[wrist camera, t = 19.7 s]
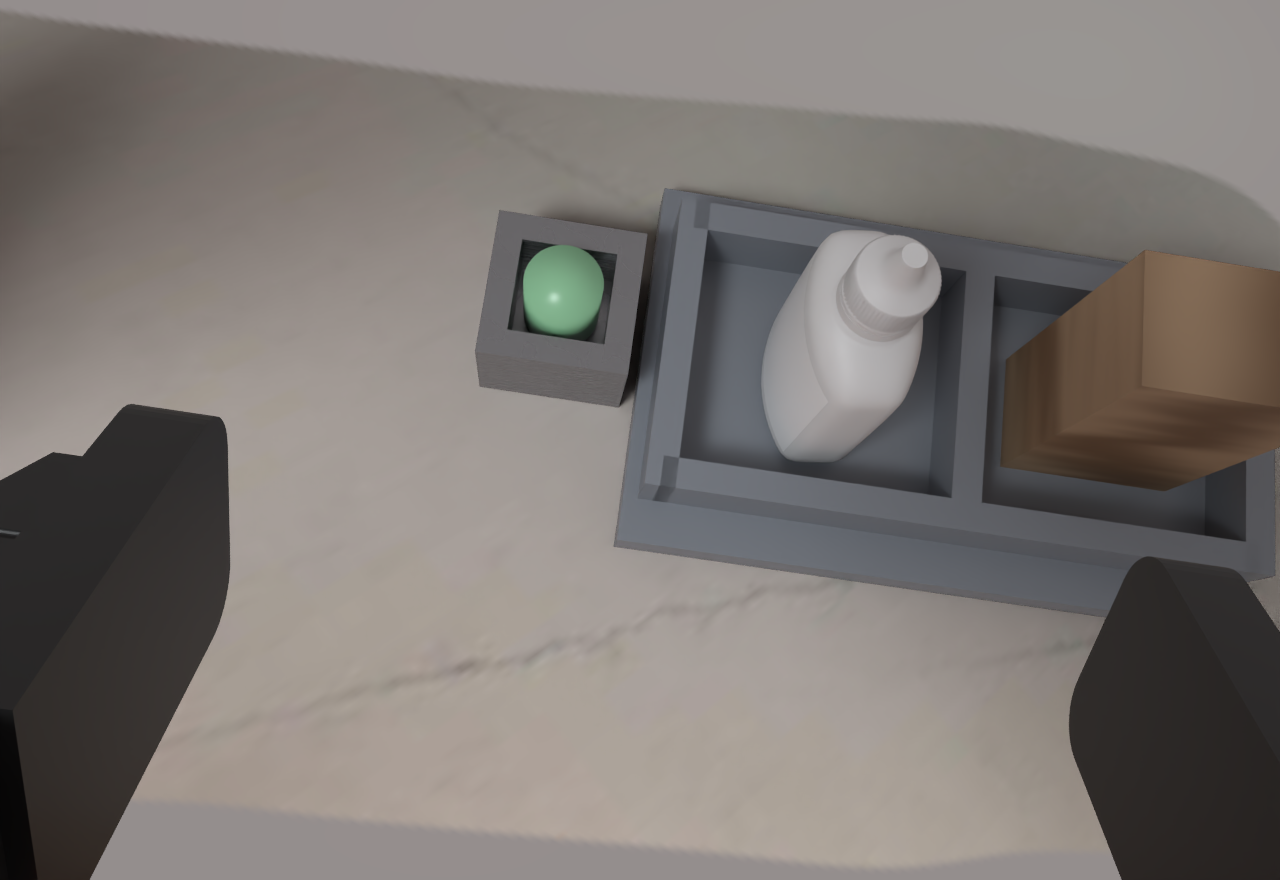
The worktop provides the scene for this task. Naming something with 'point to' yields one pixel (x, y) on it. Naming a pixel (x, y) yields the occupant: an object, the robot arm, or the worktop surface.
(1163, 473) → the walnut block
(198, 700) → the worktop surface
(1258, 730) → the robot arm
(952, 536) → the tray
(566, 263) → the button
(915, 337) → the eye dropper bottle
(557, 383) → the button box
